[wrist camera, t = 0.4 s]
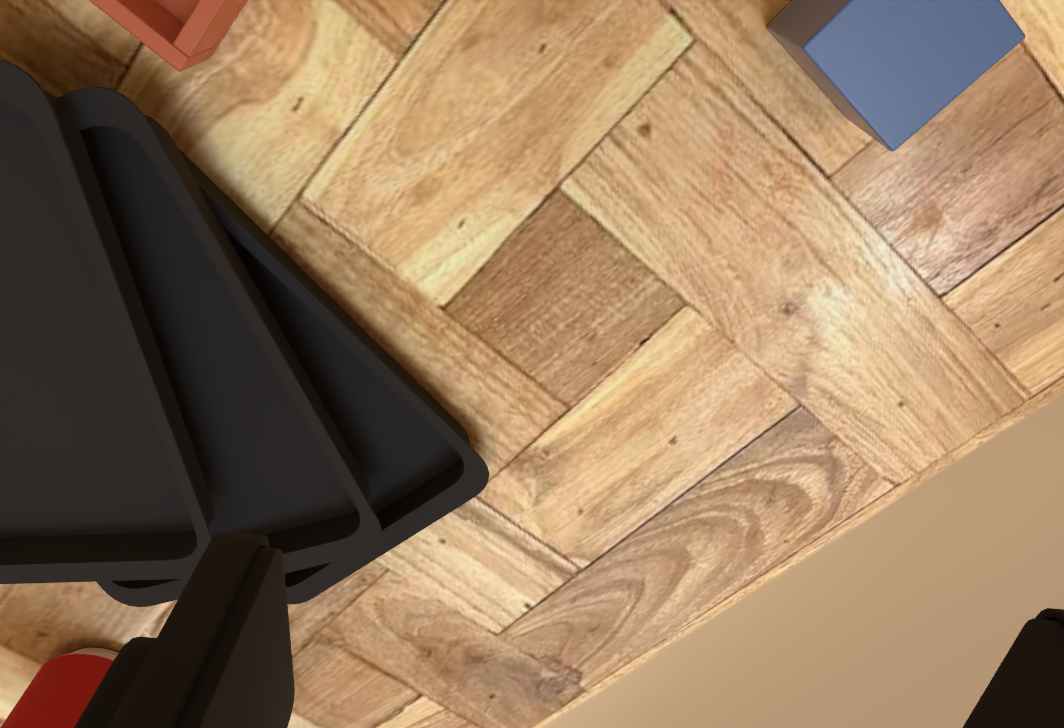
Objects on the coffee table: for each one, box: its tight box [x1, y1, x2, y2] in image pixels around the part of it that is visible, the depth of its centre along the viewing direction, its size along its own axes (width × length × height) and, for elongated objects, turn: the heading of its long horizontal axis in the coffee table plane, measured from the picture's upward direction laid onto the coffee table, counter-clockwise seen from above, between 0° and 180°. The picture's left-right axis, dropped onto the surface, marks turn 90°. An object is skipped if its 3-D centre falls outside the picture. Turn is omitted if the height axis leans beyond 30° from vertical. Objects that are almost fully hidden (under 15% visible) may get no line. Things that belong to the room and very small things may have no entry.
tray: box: [0, 60, 489, 607], centre depth 31 cm, size 30×23×5 cm
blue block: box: [767, 0, 1025, 151], centre depth 24 cm, size 4×4×4 cm
